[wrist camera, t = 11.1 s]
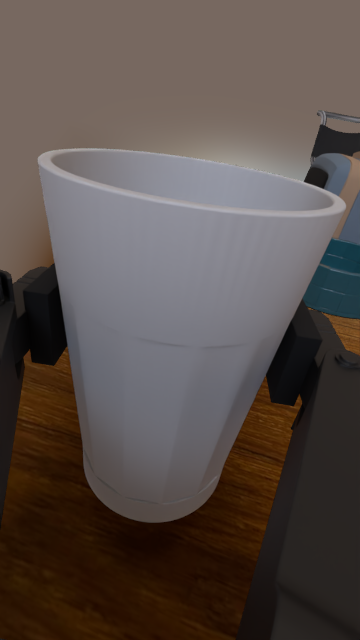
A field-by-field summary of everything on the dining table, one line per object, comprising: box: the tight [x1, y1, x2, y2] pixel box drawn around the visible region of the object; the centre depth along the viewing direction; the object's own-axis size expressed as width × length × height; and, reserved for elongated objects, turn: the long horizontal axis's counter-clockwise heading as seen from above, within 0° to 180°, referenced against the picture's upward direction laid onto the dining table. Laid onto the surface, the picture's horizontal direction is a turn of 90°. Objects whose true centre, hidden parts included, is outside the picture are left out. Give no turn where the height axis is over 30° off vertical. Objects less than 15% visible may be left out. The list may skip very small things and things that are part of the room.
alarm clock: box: [304, 151, 360, 244], centre depth 58 cm, size 16×16×16 cm
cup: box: [38, 148, 346, 523], centre depth 12 cm, size 8×8×12 cm
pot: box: [303, 237, 360, 319], centre depth 42 cm, size 15×15×5 cm
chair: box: [311, 110, 360, 165], centre depth 75 cm, size 13×17×22 cm
